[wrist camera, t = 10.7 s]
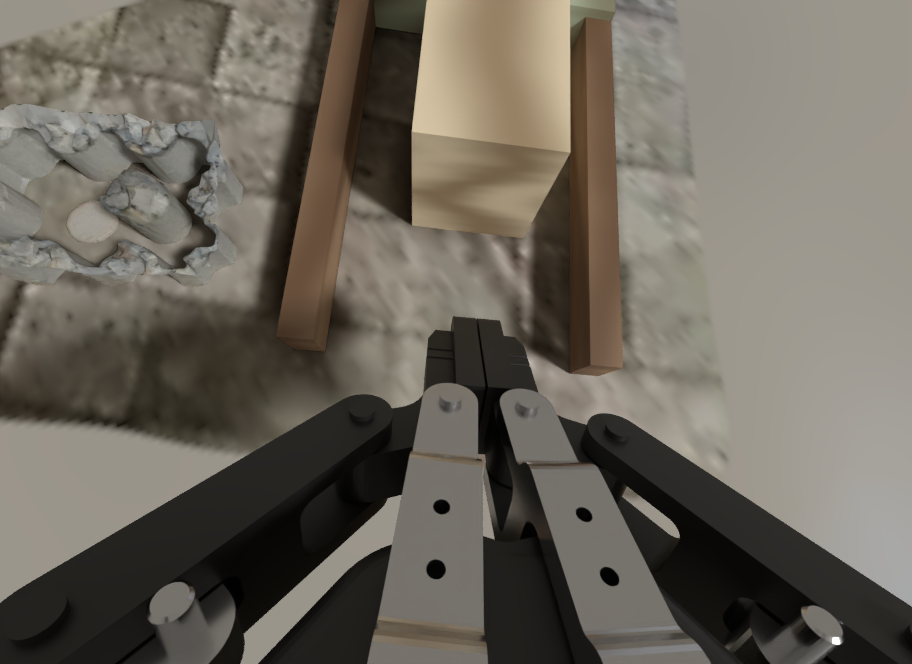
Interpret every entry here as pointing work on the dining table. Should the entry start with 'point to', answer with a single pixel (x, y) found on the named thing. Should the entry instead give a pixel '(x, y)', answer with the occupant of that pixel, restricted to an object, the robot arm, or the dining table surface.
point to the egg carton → (112, 193)
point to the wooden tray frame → (590, 181)
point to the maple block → (490, 113)
